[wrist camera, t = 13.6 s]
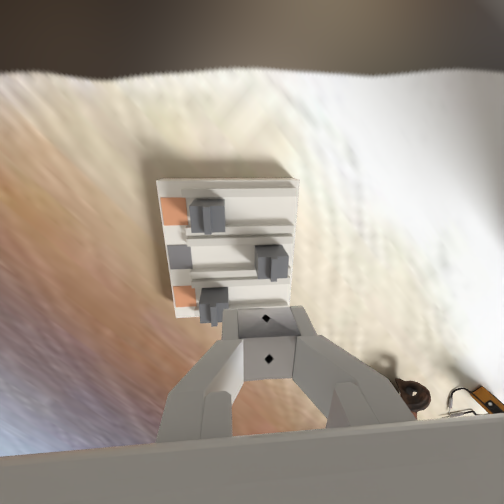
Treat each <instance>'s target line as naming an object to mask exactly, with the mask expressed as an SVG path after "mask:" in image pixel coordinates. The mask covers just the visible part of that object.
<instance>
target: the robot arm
mask: <svg viewBox="0 0 504 504" xmlns="http://www.w3.org/2000/svg"><path fill="white" fill-rule="evenodd" d="M282 378H293V381H294V382H295V383H296V384H297V385H298V386H299V387H300V388H301V390H302V391H303V392H304V393H305V394H306V395H307V396H308V398H309V399H310V400H311V401H312V402H313V403H314V404H315V405H316V407H317V408H318V409H319V410H320V411H321V412H322V413H323V414H324V416H325V417H326V418H327V424H326V429H314V430H303V431H291V432H280V433H268V434H256V435H245V436H233V437H232V404H233V402H234V400H235V398H236V397H237V395H238V393H239V391H240V389H241V387H242V385H243V383H244V381H253V380H263V379H282ZM0 504H504V413H497V414H485V415H474V416H462V417H451V418H439V419H428V420H417V419H416V418H415V416H414V415H413V413H412V412H411V411H410V409H409V408H408V406H407V405H406V404H405V402H404V401H403V399H402V398H401V396H400V395H399V394H398V392H397V391H396V389H395V388H394V387H393V385H392V384H391V382H390V381H389V379H388V378H386V377H385V376H383V375H382V374H380V373H379V372H377V371H376V370H374V369H372V368H371V367H369V366H368V365H366V364H365V363H363V362H362V361H360V360H359V359H357V358H356V357H354V356H353V355H351V354H350V353H348V352H347V351H345V350H344V349H342V348H341V347H339V346H338V345H336V344H334V343H333V342H331V341H330V340H328V339H327V338H325V337H324V336H322V335H317V333H316V331H315V329H314V327H313V325H312V323H311V321H310V319H309V317H308V315H307V313H306V311H305V309H304V307H303V306H289V307H278V308H237V309H224V310H223V321H222V340H217V341H216V342H215V344H214V345H213V346H212V347H211V348H210V349H209V350H208V351H207V352H206V353H205V354H204V355H203V357H202V358H201V359H200V360H199V361H198V362H197V363H196V364H195V365H194V366H193V367H192V369H191V370H190V371H189V372H188V373H187V374H186V375H185V376H184V377H183V378H182V379H181V381H180V382H179V383H178V384H177V385H176V386H175V387H174V388H173V389H172V390H171V391H170V392H169V394H168V398H167V401H166V405H165V409H164V413H163V416H162V420H161V424H160V427H159V431H158V435H157V439H156V442H155V443H153V444H141V445H130V446H118V447H107V448H95V449H84V450H72V451H61V452H49V453H38V454H26V455H15V456H3V457H0Z"/></svg>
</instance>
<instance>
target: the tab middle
mask: <svg viewBox="0 0 504 504" xmlns="http://www.w3.org/2000/svg"><path fill="white" fill-rule="evenodd" d="M288 264H289V256H288V254H287V252H286V251H285V249H284V247H283V246H282V245H255V269H256V273H257V277H258V279H270V281H271V282H277V279H279V278H288Z"/></svg>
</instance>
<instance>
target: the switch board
mask: <svg viewBox="0 0 504 504" xmlns="http://www.w3.org/2000/svg"><path fill="white" fill-rule="evenodd" d="M299 182H300V180H298V179H295V178H162V179H159V180H156V185H157V192H158V199H159V205H160V212H161V219H162V226H163V233H164V239H165V246H166V253H167V260H168V267H169V273H170V280H171V287H172V294H173V301H174V307H175V314H176V318H184V317H200V313H199V300H200V295H201V290H202V288H212V287H228V294H229V309H237V308H278V307H289V306H290V295H291V282H292V270H293V257H294V245H295V232H296V219H297V207H298V194H299ZM207 199H225V218H226V228H225V232H215V233H212V235H205V234H204V233H192V232H191V222H190V212H189V206H190V204H191V203H192V202H193V200H207ZM255 245H282V246H283V247H284V249H285V251H286V252H287V254H288V256H289V264H288V278H279V279H277V282H271V281H270V279H258V277H257V273H256V269H255Z"/></svg>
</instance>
